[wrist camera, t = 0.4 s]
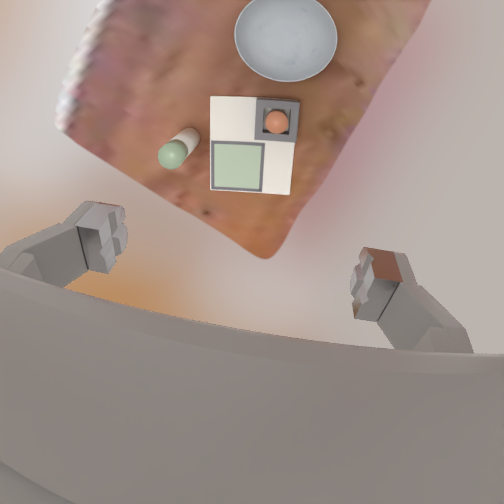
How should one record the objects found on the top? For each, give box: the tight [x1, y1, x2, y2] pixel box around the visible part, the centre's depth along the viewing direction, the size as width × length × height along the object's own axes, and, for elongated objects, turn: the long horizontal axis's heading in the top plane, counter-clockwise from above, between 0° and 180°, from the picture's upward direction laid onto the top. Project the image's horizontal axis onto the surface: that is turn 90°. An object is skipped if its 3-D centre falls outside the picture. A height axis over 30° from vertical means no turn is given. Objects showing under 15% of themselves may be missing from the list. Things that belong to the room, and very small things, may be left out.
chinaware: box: [234, 0, 337, 82], centre depth 40 cm, size 15×15×8 cm
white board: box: [210, 96, 300, 195], centre depth 53 cm, size 18×15×4 cm
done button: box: [265, 109, 288, 134], centre depth 49 cm, size 4×4×4 cm
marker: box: [158, 128, 200, 169], centre depth 50 cm, size 4×4×12 cm
